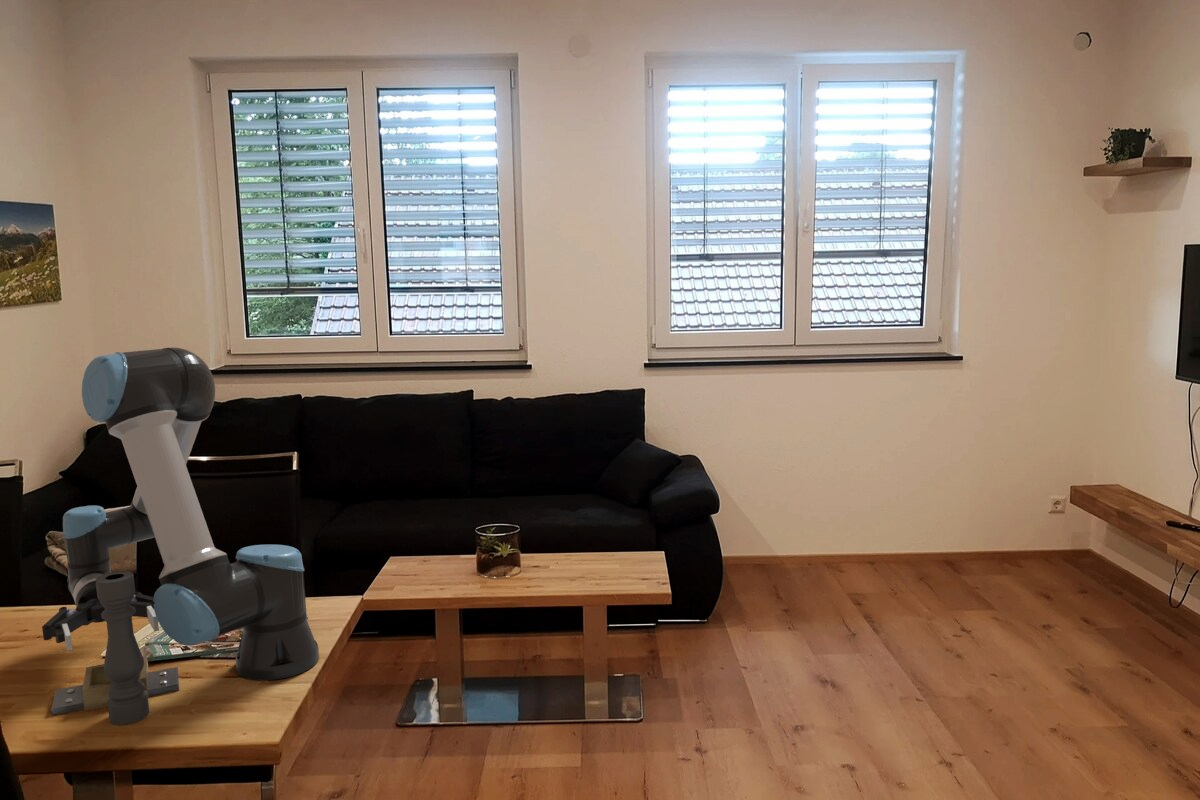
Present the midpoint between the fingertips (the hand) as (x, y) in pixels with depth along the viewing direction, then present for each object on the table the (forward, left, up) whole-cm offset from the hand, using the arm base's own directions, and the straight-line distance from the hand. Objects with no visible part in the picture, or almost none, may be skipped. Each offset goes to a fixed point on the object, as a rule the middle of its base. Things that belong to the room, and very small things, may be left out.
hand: (113, 633), depth 162 cm
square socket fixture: (+4, -3, -13) cm, 14 cm away
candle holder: (-5, +3, -13) cm, 15 cm away
